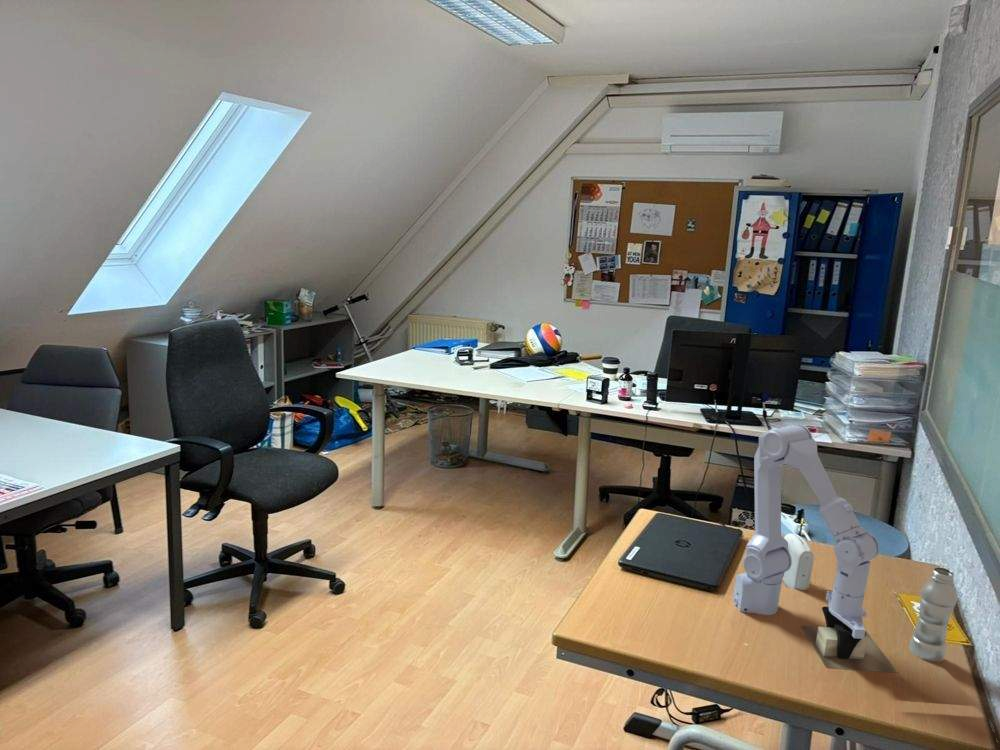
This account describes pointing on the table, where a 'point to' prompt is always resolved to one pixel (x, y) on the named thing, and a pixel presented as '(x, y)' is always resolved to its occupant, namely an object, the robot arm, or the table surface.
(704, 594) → the table surface
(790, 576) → the photo printer
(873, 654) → the grey flat square block
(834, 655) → the block
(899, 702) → the table surface
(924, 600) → the plastic bottle
